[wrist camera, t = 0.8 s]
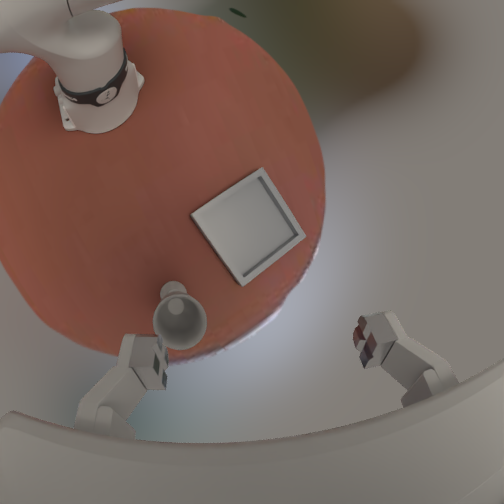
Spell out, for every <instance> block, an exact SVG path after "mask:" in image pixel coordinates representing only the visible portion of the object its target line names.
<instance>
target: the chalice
mask: <svg viewBox="0 0 504 504" xmlns="http://www.w3.org/2000/svg"><path fill="white" fill-rule="evenodd" d="M160 296H161V301H160V303H159V305H158V306H157V308H156V310H155V312H154V317H153V328H154V331H155V334H161V336H162V338H163V344H164V345H166V346H167V347H169V348H172V349H176V350H183V349H188V348H191V347H193V346H195V345H196V344H197V343H198V342H199V341H200V340H201V339H202V337H203V335H204V334H205V331H206V326H207V318H206V314H205V311H204V308H203V307H202V306H201V304H200V303H199V302H198V301H197V300H195V299H194V298H192V297H191V296H190V295H188V294H187V291H186V288H185V287H184V286H183V284H181V283H180V282H177V281H170V282H168V283H166V284H165V285H164V286H163V287H162V289H161V292H160Z"/></svg>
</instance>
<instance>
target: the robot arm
mask: <svg viewBox="0 0 504 504" xmlns="http://www.w3.org/2000/svg"><path fill="white" fill-rule="evenodd" d="M118 1H122V0H0V53H7V52H16V53H24V54H29V55H32V56H35V57H38V58H40V59H42V60H44V61H45V62H47V63H48V64H49V65H50V67H51V68H52V69H53V71H54V72H55V74H56V75H57V77H56V78H55V84H56V86H54V87H53V89H54V92H55V95H56V96H58V102H59V107H60V112H61V117H62V122H63V126H64V128H65V130H67V131H74V130H81V131H84V132H87V133H104V132H107V131H110V130H112V129H114V128H116V127H118V126H119V125H121V124H122V123H123V122H125V121H126V120H127V119H128V118H129V116H130V115H131V114H132V112H133V111H134V109H135V107H136V104H137V100H138V93H139V91H140V89H141V88H142V86H143V84H144V82H145V80H144V77H143V76H142V75H141V74H140V73H139V72H137V71H136V67H135V64H134V63H131V62H130V61H129V60H128V58H127V54H126V51H125V49H124V48H123V44H122V34H121V27H120V24H119V22H118V21H117V20H116V19H115V18H114V17H113V16H111V15H110V14H108V13H106V12H104V11H100V10H93V9H96V8H98V7H102V6H105V5H108V4H111V3H115V2H118ZM68 119H69V121H67V120H68ZM358 323H359V325H358V326H357V327H356V328H355V330H354V333H353V340H354V344H355V347H356V349H357V350H358V351H360V352H361V353H360V356H359V357H360V360H361V362H362V365H363V368H364V369H367V368H371V367H376V366H380V365H381V367H382V368H383V369H384V370H385V371H386V372H388V373H389V374H390V375H391V376H392V377H393V378H394V379H395V380H397V381H398V382H399V383H400V384H401V385H402V386H403V387H405V388H406V389H407V390H408V391H407V392H406V393H405V395H404V396H403V397H402V398H401V402H402V405H403V408H401V409H398V410H395V411H392V412H389V413H386V414H383V415H380V416H377V417H374V418H370V419H367V420H364V421H360V422H357V423H353V424H349V425H345V426H341V427H337V428H332V429H328V430H323V431H318V432H313V433H308V434H302V435H296V436H290V437H283V438H275V439H268V440H258V441H246V442H230V443H172V442H156V441H145V440H136V439H135V432H136V431H135V430H134V428H132V427H131V426H130V425H129V424H128V423H127V422H126V420H127V418H128V417H129V416H130V414H131V413H132V411H133V410H134V408H135V407H136V406H137V404H138V403H139V402H140V400H141V399H142V397H143V396H144V395H145V393H146V392H147V390H166V384H167V375H166V373H165V370H166V369H167V368H168V363H169V359H168V351H167V348H166V346H165V345H163V344H162V343H163V338H162V336H161V334H125V335H124V337H123V340H122V344H121V348H120V352H119V356H118V361H117V365H116V367H112V368H111V369H110V370H109V371H108V372H107V373H106V374H105V375H104V376H103V377H102V378H101V380H99V382H98V383H97V384H96V385H95V386H94V387H93V388H92V389H91V390H90V391H89V392H88V393H87V394H86V395H85V396H84V397H83V398H82V399H81V400H80V402H79V407H78V410H77V415H76V420H75V425H74V429H73V428H69V427H65V426H61V425H57V424H54V423H51V422H47V421H44V420H41V419H37V418H34V417H31V416H28V415H26V414H23V413H20V412H17V411H10V412H8V413H6V414H5V415H4V416H3V417H2V418H1V419H0V504H504V359H502V360H500V361H498V362H497V363H495V364H493V365H492V366H490V367H488V368H487V369H485V370H483V371H481V372H480V373H478V374H476V375H474V376H472V377H471V378H469V379H467V380H465V381H463V382H461V383H459V382H458V380H457V378H456V377H455V375H454V373H453V371H452V369H451V367H450V365H449V363H448V362H447V361H446V360H445V359H443V358H442V357H440V356H439V355H437V354H436V353H434V352H432V351H431V350H429V349H428V348H426V347H425V346H423V345H422V344H420V343H419V342H417V341H416V340H414V339H413V338H411V337H409V338H408V337H407V335H406V333H405V331H404V330H403V328H402V326H401V324H400V323H399V321H398V319H397V317H396V316H395V314H394V312H393V311H391V310H390V311H385V312H378V313H373V314H368V315H363V316H360V318H359V319H358Z"/></svg>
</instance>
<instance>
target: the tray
mask: <svg viewBox="0 0 504 504" xmlns="http://www.w3.org/2000/svg"><path fill="white" fill-rule="evenodd" d="M190 217H191V218H192V220H193V221H194V222H195V224H196V225H197V227H198V228H199V230H200V231H201V233H202V234H203V235H204V237H205V238H206V240H207V241H208V243H209V244H210V245H211V247H212V248H213V250H214V251H215V253H216V254H217V255H218V257H219V258H220V260H221V261H222V262H223V264H224V265H225V267H226V268H227V269H228V271H229V272H230V274H231V275H232V276H233V278H234V279H235V281H236V282H237V283H238V285H240V286H242V287H243V286H245V285H246V284H247V283H248V282H250V281H251V280H252V279H253V278H255V277H256V276H257V275H259V274H260V273H261V272H262V271H264V270H265V269H266V268H267V267H269V266H270V265H271V264H273V263H274V262H275V261H276V260H278V259H279V258H280V257H281V256H283V255H284V254H285V253H286V252H288V251H289V250H290V249H291V248H293V247H294V246H295V245H296V244H298V243H299V242H300V241H301V240H303V239H304V238H305V237H306V235H305V233H304V232H303V230H302V229H301V227H300V225H299V224H298V222H297V220H296V219H295V217H294V216H293V214H292V212H291V211H290V209H289V208H288V206H287V204H286V203H285V201H284V200H283V198H282V197H281V195H280V193H279V192H278V190H277V189H276V187H275V186H274V184H273V183H272V181H271V180H270V178H269V176H268V175H267V173H266V172H265V170H264V169H263V167H262V168H260V169H258V170H257V171H255V172H254V173H252V174H251V175H249V176H247V177H246V178H244V179H243V180H241V181H240V182H238V183H237V184H235V185H234V186H232V187H230V188H229V189H227V190H226V191H224V192H223V193H221V194H220V195H218V196H217V197H215V198H214V199H213V200H211V201H210V202H208V203H207V204H205V205H204V206H202V207H201V208H199V209H198V210H196V211H195V212H194V213H192V214H191V215H190Z"/></svg>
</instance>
